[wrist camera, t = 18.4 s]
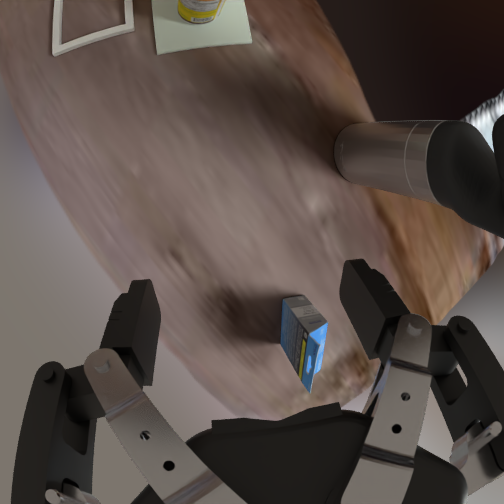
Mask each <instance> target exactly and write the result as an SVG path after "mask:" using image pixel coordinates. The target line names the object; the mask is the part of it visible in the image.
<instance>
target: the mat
mask: <svg viewBox="0 0 504 504" xmlns="http://www.w3.org/2000/svg"><path fill="white" fill-rule="evenodd" d="M152 11H153V21H154V31H155V40H156V49H157V55H161V54H166V53H172V52H177V51H184V50H190V49H197V48H205V47H214V46H225V45H238V44H251V43H252V38H251V33H250V28H249V23H248V18H247V13H246V8H245V3H244V0H226V1H225V3H224V5H223V8H222V10H221V12H220V14H219V16H218V17H217V18H216V19H215V20H214V21H212V22H210V23H207V24H203V25H193V24H190V23H187V22H185V21H184V20H182V19H181V17H180V16H179V14H178V0H152Z"/></svg>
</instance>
